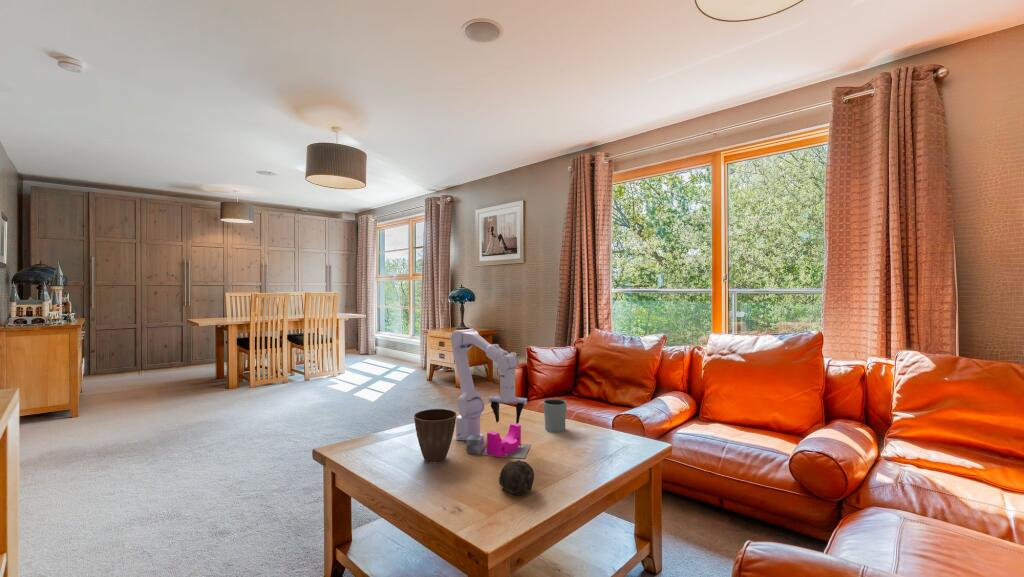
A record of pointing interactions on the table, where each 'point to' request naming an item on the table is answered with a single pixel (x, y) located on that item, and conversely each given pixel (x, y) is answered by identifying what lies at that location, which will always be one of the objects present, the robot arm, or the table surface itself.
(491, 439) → the toy block
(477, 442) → the gray cube
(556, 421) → the gray cup
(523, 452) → the board
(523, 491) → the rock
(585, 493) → the table surface
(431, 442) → the plant pot
